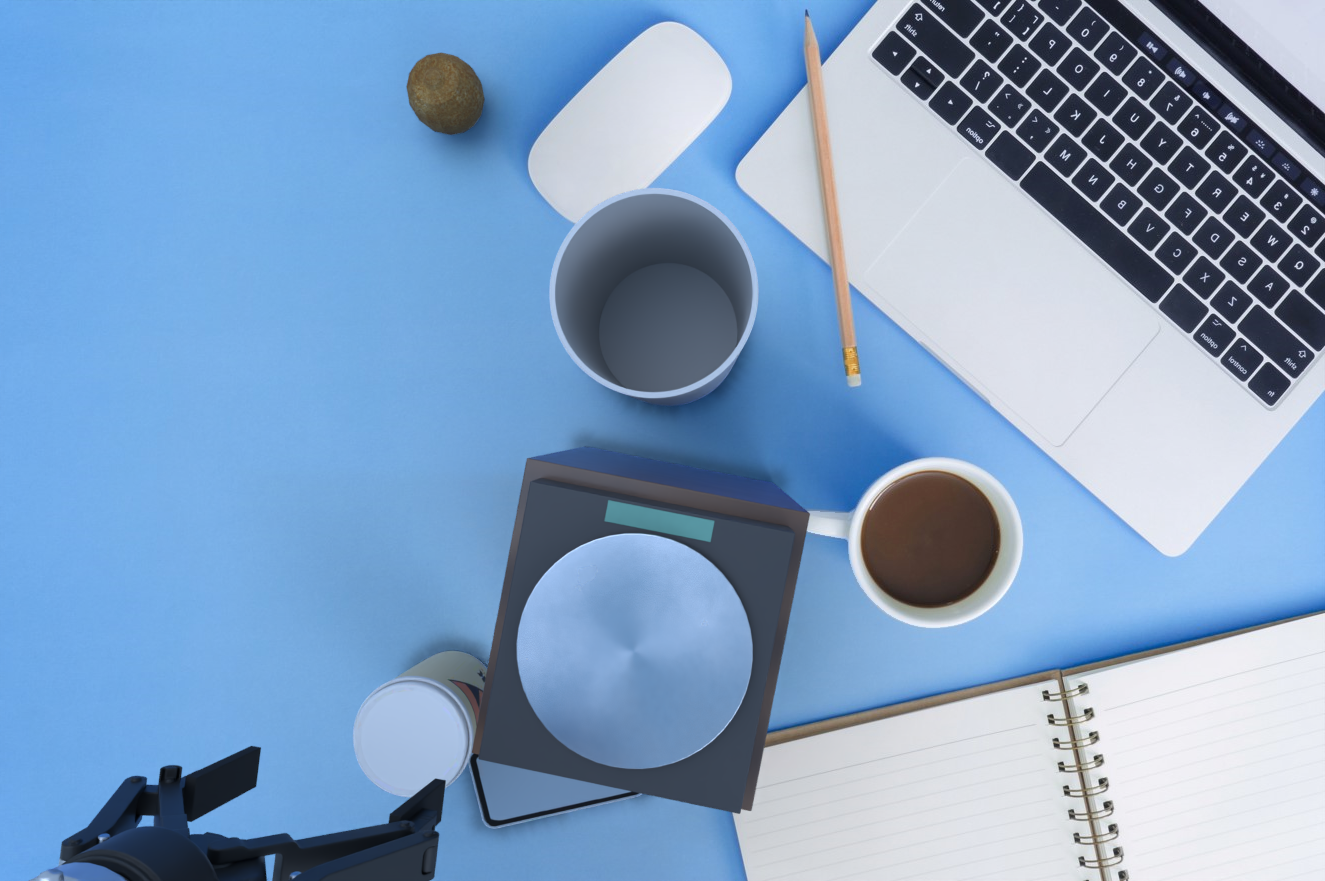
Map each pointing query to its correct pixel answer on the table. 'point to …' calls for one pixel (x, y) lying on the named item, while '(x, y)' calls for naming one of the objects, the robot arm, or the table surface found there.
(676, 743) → the scale pan
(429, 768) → the coffee cup
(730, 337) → the cylinder vase
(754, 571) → the scale
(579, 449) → the dark grey tall block
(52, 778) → the table surface
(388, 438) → the table surface
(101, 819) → the robot arm
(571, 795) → the smartphone
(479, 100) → the fruit
